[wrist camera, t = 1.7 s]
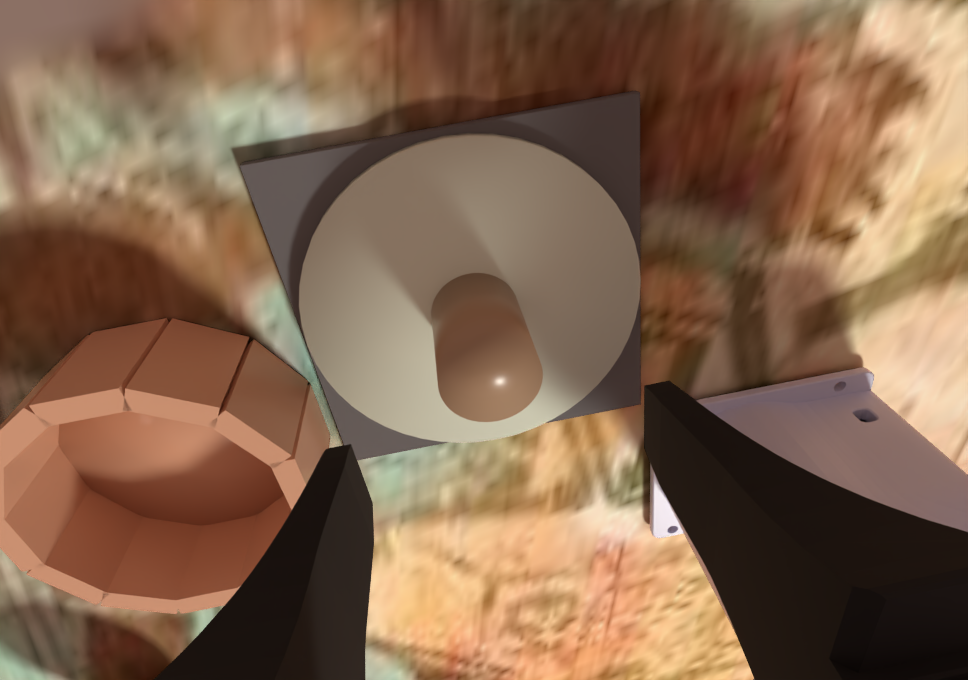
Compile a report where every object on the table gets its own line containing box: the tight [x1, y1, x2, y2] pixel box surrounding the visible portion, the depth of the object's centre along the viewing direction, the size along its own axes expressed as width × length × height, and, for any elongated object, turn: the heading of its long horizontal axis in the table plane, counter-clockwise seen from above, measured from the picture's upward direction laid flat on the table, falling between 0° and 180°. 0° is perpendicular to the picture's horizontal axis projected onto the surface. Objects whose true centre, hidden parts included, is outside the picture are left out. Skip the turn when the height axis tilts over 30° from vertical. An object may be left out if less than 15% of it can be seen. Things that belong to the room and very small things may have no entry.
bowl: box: [0, 318, 330, 614], centre depth 21 cm, size 10×10×4 cm
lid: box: [299, 133, 641, 443], centre depth 18 cm, size 12×12×5 cm
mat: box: [240, 91, 641, 460], centre depth 21 cm, size 12×12×1 cm
